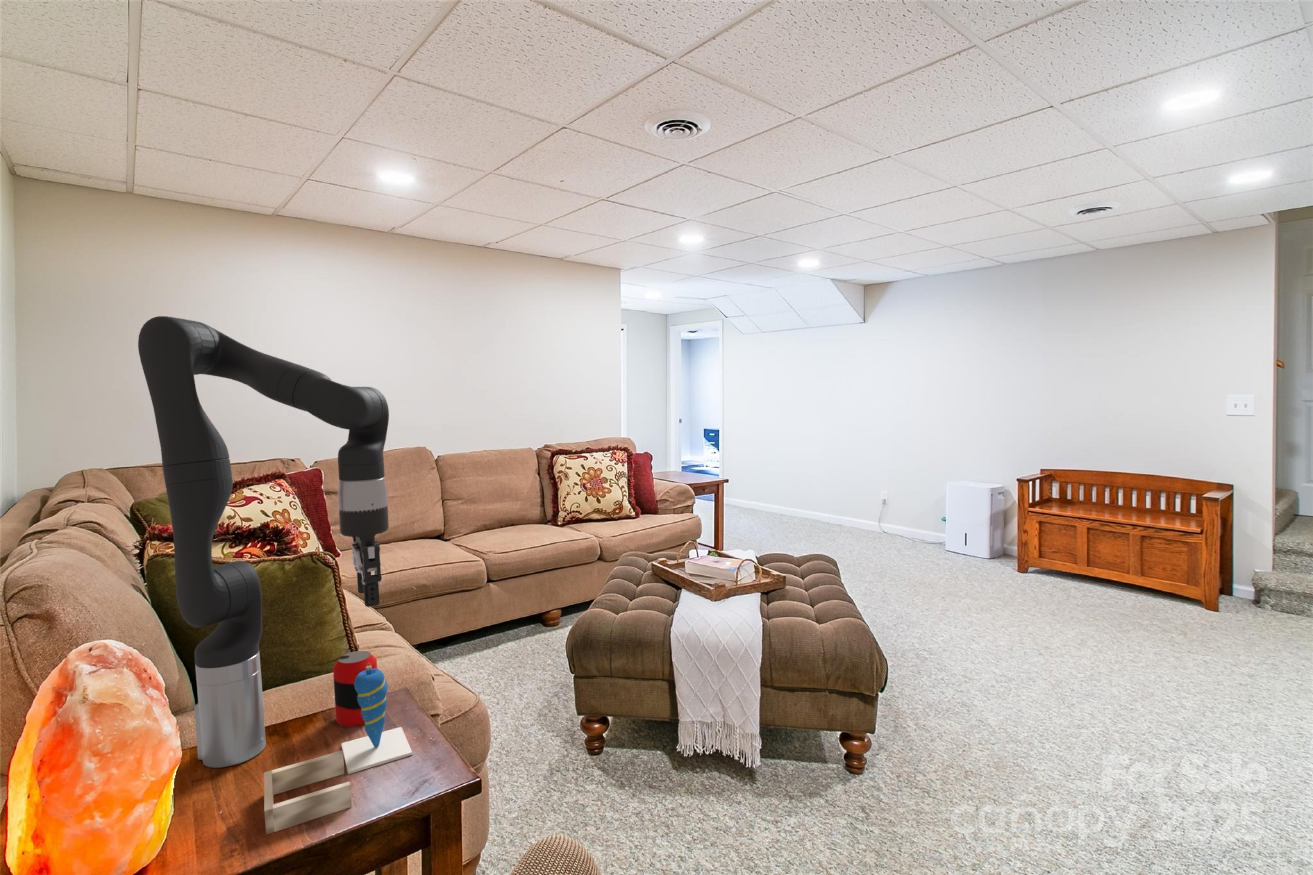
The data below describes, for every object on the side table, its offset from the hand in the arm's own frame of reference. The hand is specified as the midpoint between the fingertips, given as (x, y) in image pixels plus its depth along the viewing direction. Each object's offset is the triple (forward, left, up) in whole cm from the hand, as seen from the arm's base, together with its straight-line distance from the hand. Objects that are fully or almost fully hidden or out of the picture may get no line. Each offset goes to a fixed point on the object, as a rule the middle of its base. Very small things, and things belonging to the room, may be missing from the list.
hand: (368, 598), depth 110 cm
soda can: (-11, +9, -27) cm, 31 cm away
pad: (0, 0, -27) cm, 27 cm away
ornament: (0, 0, -27) cm, 27 cm away
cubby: (-1, -14, -27) cm, 31 cm away
